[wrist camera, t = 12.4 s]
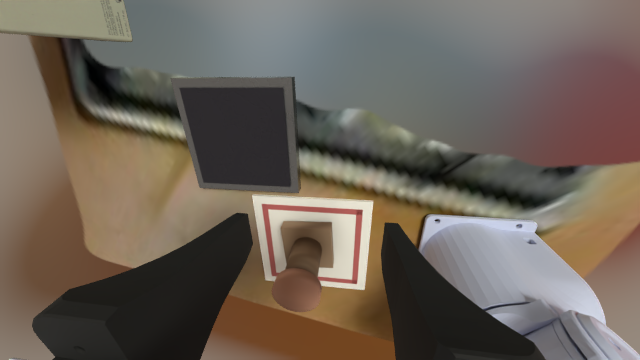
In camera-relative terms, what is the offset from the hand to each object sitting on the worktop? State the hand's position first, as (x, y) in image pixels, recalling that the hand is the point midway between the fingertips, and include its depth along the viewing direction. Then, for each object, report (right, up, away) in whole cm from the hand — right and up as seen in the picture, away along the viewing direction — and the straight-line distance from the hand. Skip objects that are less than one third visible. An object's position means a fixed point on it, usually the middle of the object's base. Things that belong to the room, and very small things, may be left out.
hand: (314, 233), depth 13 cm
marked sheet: (-1, -4, +14) cm, 15 cm away
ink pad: (-7, +7, +9) cm, 13 cm away
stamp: (-1, -4, +13) cm, 14 cm away
